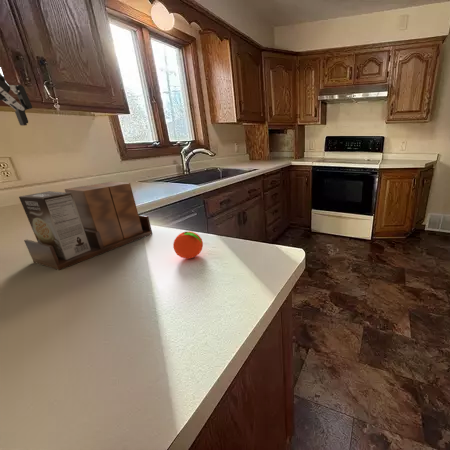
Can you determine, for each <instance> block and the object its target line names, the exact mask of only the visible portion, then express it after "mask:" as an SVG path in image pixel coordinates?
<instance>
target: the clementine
mask: <svg viewBox="0 0 450 450" xmlns="http://www.w3.org/2000/svg"><path fill="white" fill-rule="evenodd" d="M172 246H173V247H172V249H173V251H174V252H175V254H176V255H177V256H179V257H180V258H183V259H193V258H195V257H197V256H198V255H200V253H201V252H202V251H203V248H204V247H203V246H204V241H203V239H202V237H201V236H200V235H199V234H198V233H197V232H194V231H190V230H189V231H184V232H180V233H179V234H178V235H177V236H176V237H175V239H174V240H173V243H172Z"/></svg>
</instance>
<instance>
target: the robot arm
mask: <svg viewBox="0 0 450 450" xmlns="http://www.w3.org/2000/svg"><path fill="white" fill-rule="evenodd" d="M10 91H12V92H13V94H15V95H16V96H17V98H18V100H19V101H17V100H16V98H14V97H13V96H12V95H10V94H9V93H10ZM1 101H2V102H4V103H5V104H6V105H8V106H10V107H11V108H12V109H13V110H14V113H15V117H16V118H17V121H18V124H19V125H20V126H22V127H23V126H24V127H25V126H27V125H28V124H29V119H28V116H27V114H26V111H27V110H30V109H31V110H32V109H33V105H32V103H31V100H30V98H29V95H28V93H27V91H26V89H25V87H24V85H22V84H17V85H13V84H8V83H7V81H6V79H5V75H4V73H3V70H2V67H0V102H1Z"/></svg>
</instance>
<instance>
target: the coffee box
mask: <svg viewBox="0 0 450 450" xmlns="http://www.w3.org/2000/svg"><path fill="white" fill-rule="evenodd" d="M18 199H19V201H20V204H21V205H22V208H23V210H24V213H25V215H26V217H27V219H28V222H29V225H30V227H31V230H32V232H33V234H34V236H35V239H36V242H39V243H43V244H47V245H51V246H53V248H54V251H55V253H56V256H57V258H58V259H64V260H67V259H70V258H72V257H75V256H77V255H80V254H82V253H85V252H87V251H90V250H91V249H90V246H89V243H88V240H87V237H86V234H85V231H84V228H83V225H82V222H81V219H80V216H79V213H78V210H77V207H76V204H75V201H74V198H73V195H72V193H66V192H65V191H64V192H62V191H52V190H51V191H50V190H47V191H43V192H37V193H30V194H25V195H20V196H18Z"/></svg>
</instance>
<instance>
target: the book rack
mask: <svg viewBox="0 0 450 450" xmlns="http://www.w3.org/2000/svg"><path fill="white" fill-rule="evenodd" d="M64 193H72V195H73V198H74V201H75V204H76V207H77V210H78V213H79V216H80V219H81V222H82V225H83V228H84V231H85V234H86V237H87V240H88V243H89V246H90V249H91V250H90V251H87V252H85V253H82V254H80V255H77V256H75V257H72V258H70V259H67V260H64V259H58V258H57V256H56V253H55V251H54V248H53V246H51V245H47V244H43V243H39V242H37V241H35V240H31V239H24V241H23V242H24V243H25V246H26V248H27V250H28V253H29V254H30V255H29V256H30V257H31V259H32V262H33V263H35V264H39V265H42V266H45V267H48V268H51V269H54V270H58V271H60V270H63V269H66V268H68V267H70V266H71V267H72V266H73V265H76V264H79V263H81V262H83V261H86V260H89V259H92V258H94V257H96V256H99V255H102V254H104V253H108V252H109V251H112V250H114V249H117V248H120V247H122V246H125V245H127V244H130V243H132V242H135V241H138V240H141V239H143V238H146V237H148V236H151V235H153V230H152V226H151V222H150V218H149V215H143V214H139V213H138V208H137V204H136V201H135V197H134V192H133V188H132V185H131V182H123V181H108V182H101V183H95V184H90V185H88V184H87V185H82V186H76V187H69V188H64ZM150 234H151V235H150ZM145 236H146V237H145Z"/></svg>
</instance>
